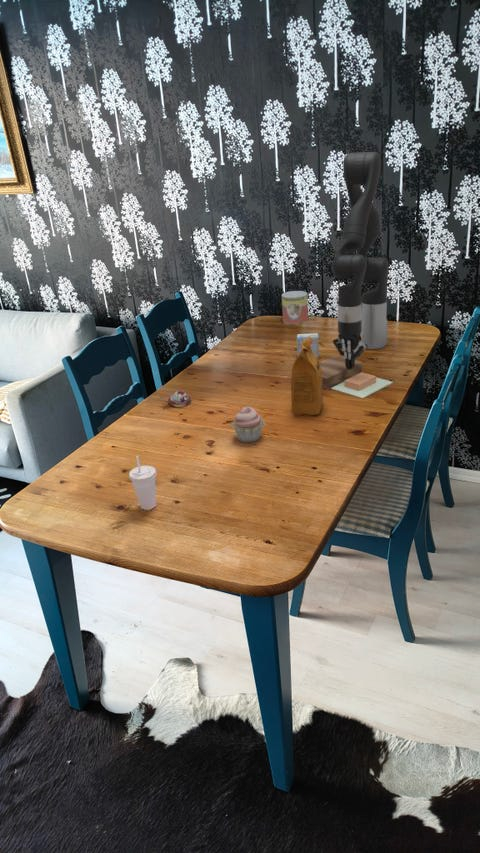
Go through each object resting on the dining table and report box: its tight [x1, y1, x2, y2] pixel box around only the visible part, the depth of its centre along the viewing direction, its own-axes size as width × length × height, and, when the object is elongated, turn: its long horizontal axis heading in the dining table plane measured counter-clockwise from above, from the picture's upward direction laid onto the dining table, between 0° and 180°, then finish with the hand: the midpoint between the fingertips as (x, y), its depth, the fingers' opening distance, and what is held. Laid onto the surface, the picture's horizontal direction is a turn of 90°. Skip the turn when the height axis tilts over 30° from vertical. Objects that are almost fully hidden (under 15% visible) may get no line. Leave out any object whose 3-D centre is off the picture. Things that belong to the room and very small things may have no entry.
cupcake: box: [231, 406, 265, 444], centre depth 176 cm, size 9×9×10 cm
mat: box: [330, 376, 394, 400], centre depth 205 cm, size 16×13×1 cm
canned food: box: [281, 290, 309, 325], centre depth 274 cm, size 11×11×12 cm
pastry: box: [167, 389, 192, 409], centre depth 204 cm, size 8×8×5 cm
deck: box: [319, 355, 363, 391], centre depth 213 cm, size 18×12×4 cm, turn 132°
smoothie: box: [128, 455, 157, 511], centre depth 148 cm, size 6×6×14 cm
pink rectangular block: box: [344, 371, 377, 391], centre depth 205 cm, size 9×6×2 cm, turn 132°
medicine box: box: [296, 332, 320, 359], centre depth 232 cm, size 8×4×9 cm, turn 84°
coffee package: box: [290, 337, 324, 416], centre depth 188 cm, size 10×12×22 cm
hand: (349, 368), depth 206 cm, fingers closed
